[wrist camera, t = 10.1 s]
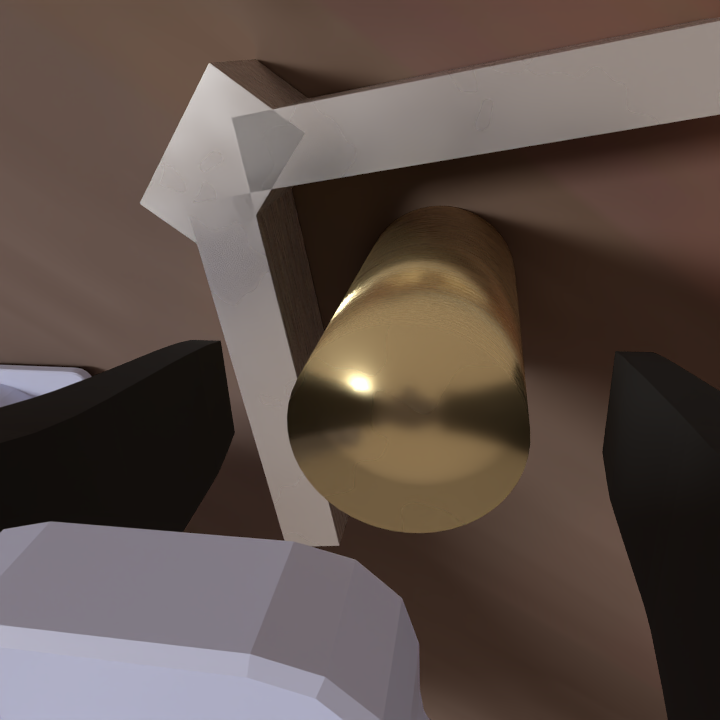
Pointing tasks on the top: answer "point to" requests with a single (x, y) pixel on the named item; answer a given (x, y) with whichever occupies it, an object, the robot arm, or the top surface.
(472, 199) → the top surface
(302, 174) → the grey angled bracket
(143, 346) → the top surface
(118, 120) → the top surface
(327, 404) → the brass axle
